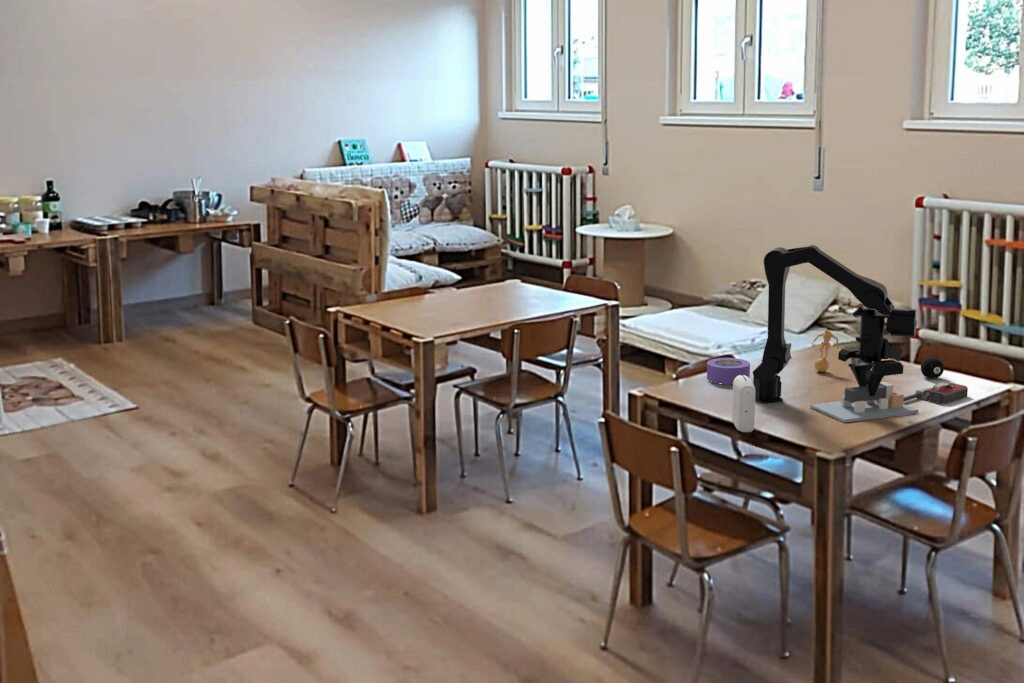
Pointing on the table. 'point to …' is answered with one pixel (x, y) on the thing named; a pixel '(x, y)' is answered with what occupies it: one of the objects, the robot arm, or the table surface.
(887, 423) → the table surface
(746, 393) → the photo printer
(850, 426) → the table surface
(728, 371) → the tape roll
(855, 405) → the board
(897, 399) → the end holder
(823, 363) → the figurine
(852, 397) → the rod
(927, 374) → the billiard ball
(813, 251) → the robot arm
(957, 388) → the walkie-talkie
